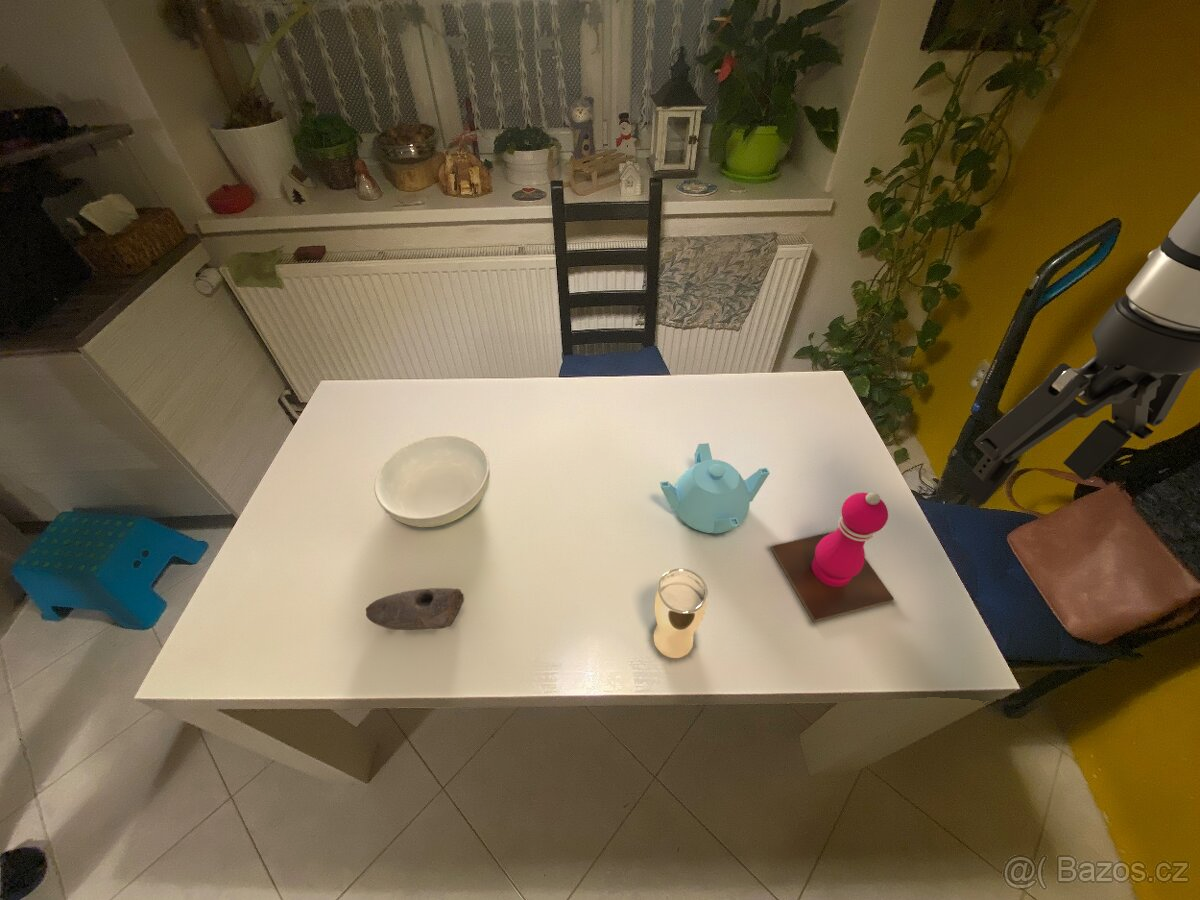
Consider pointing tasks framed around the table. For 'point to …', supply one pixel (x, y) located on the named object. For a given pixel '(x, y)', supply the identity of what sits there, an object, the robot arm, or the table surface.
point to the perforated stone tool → (416, 609)
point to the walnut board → (822, 597)
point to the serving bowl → (433, 480)
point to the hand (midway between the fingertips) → (1024, 482)
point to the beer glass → (678, 611)
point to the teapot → (713, 493)
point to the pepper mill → (849, 539)
